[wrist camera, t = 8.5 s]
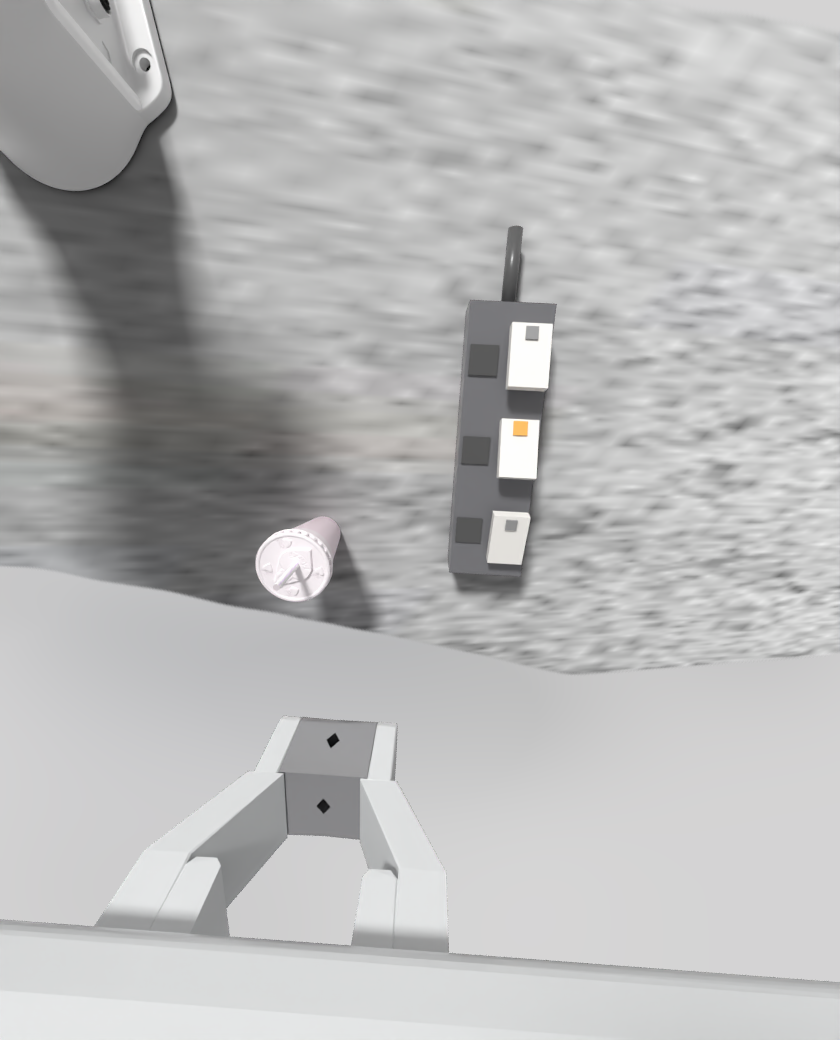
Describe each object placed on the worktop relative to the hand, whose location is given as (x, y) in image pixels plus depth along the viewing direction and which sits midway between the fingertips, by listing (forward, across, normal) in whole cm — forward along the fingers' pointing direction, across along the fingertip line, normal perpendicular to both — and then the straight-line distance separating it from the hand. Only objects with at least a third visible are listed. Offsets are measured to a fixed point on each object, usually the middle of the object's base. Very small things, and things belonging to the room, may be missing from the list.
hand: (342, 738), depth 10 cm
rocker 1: (+27, -9, -12) cm, 31 cm away
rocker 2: (+27, -9, -5) cm, 29 cm away
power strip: (+31, -8, -8) cm, 33 cm away
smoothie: (+31, +9, +5) cm, 33 cm away
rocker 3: (+27, -9, +2) cm, 29 cm away
